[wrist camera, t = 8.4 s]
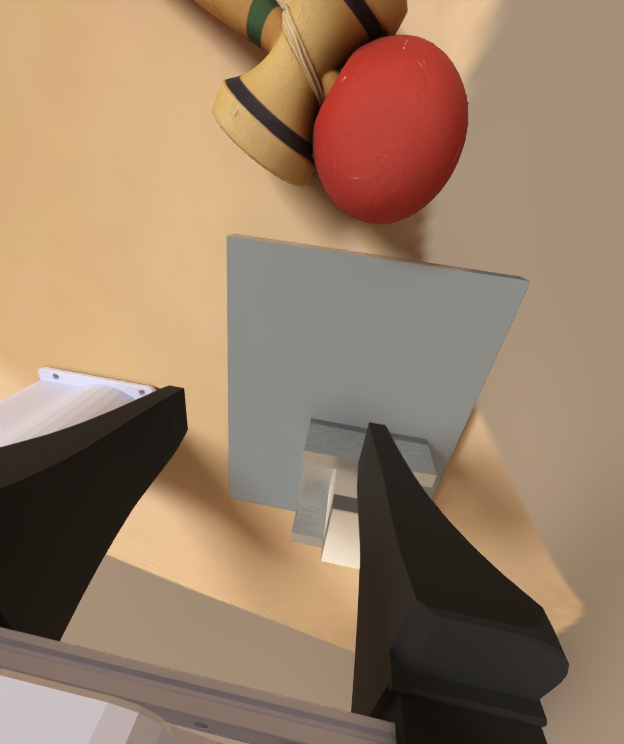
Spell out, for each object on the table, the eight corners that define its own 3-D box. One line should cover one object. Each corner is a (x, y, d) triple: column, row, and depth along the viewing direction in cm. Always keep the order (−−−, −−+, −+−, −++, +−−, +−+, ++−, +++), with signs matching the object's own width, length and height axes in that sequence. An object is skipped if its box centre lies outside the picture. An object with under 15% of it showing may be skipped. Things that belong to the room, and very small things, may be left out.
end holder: (298, 503, 26) (290, 540, 23) (311, 418, 22) (303, 450, 19) (393, 523, 26) (398, 563, 23) (426, 439, 21) (436, 476, 18)
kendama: (102, 34, 16) (369, 273, 17) (-56, -127, 10) (377, 264, 11) (184, -147, 14) (481, 142, 15) (46, -500, 8) (570, 39, 9)
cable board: (234, 486, 28) (229, 497, 27) (234, 234, 18) (226, 235, 17) (412, 522, 27) (415, 535, 26) (520, 276, 17) (530, 281, 16)
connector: (327, 497, 24) (320, 561, 20) (337, 449, 22) (332, 509, 18) (372, 506, 24) (375, 572, 20) (388, 458, 22) (395, 522, 17)
